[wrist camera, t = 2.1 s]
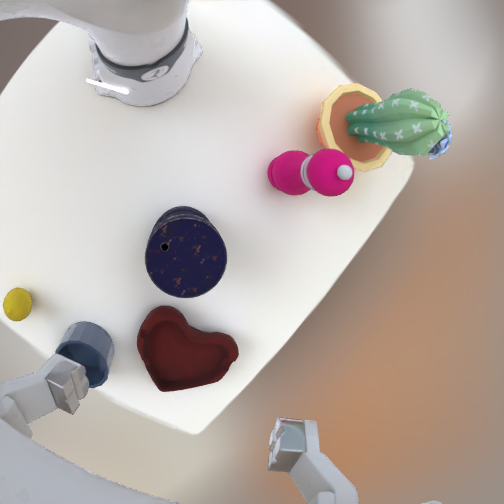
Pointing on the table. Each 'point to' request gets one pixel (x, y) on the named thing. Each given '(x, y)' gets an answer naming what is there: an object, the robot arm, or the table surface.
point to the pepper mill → (312, 172)
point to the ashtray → (182, 351)
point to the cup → (88, 350)
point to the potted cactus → (382, 125)
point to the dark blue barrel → (185, 253)
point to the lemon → (17, 304)
